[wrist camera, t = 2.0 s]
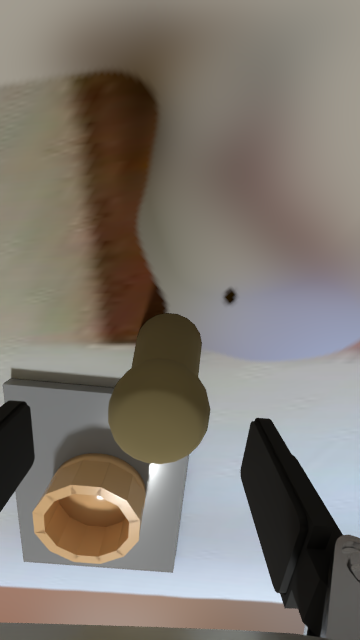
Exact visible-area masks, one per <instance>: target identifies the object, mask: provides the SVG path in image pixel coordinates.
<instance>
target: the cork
mask: <svg viewBox="0 0 360 640" xmlns="http://www.w3.org/2000/svg"><path fill="white" fill-rule="evenodd" d="M201 346H202V342H201V337H200V333H199V332H198V330H197V328H196V326H195V325H194V324H193V323H192V322H191V321H190V320H188V319H187V318H185V317H183V316H180V315H178V314H171V313H165V314H160V315H156V316H154V317H153V318H151V319H149V320H148V321H147V322H146V323H145V324H144V325H143V326H142V327H141V329H140V331H139V334H138V336H137V341H136V347H135V352H134V357H133V363H132V368H131V369H130V370H129V371H127V372H126V373H125V375H124V376H123V377H122V378H121V379H120V380H119V381H118V383H117V384H116V386H115V388H114V390H113V393H112V395H111V398H110V400H109V407H108V423H109V426H110V429H111V432H112V434H113V437H114V440H115V441H116V443H117V444H118V445H119V446H120V448H121V449H122V450H123V451H124V452H125V453H127V454H128V455H130V456H131V457H133V458H134V459H137V460H140V461H143V462H145V463H152V464H166V463H171V462H176V461H178V460H180V459H182V458H184V457H186V456H188V455H189V454H190V453H191V452H192V451H193V450H194V449H195V448H196V447H197V446H198V445H199V444H200V442H201V441H202V439H203V437H204V435H205V433H206V431H207V428H208V422H209V415H210V406H209V402H208V397H207V393H206V389H205V387H204V386H203V384H202V383H201V381H200V380H199V378H198V373H199V364H200V355H201Z"/></svg>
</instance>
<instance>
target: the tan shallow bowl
mask: <svg viewBox="0 0 360 640" xmlns="http://www.w3.org/2000/svg"><path fill="white" fill-rule="evenodd" d="M145 498H146V488H145V484H144V481H143V479H142V477H141V476H140V474H139V473H138V472H137V471H136V470H135V468H133V467H132V466H131V465H130V464H128V463H127V462H125V461H123V460H121V459H119V458H117V457H114V456H111V455H107V454H100V453H90V454H83V455H79V456H76V457H73V458H71V459H69V460H68V461H66V462H65V463H63V464H62V465H61V466H60V467H59V469H58V470H57V471H56V473H55V475H54V476H53V478H52V480H51V482H50V484H49V485H48V487H47V488H46V490H45V492H44V494H43V495H42V497H41V499H40V500H39V502H38V504H37V505H36V507H35V509H34V510H33V512H32V513H33V524H34V533H35V534H36V535H37V537H38V538H39V539H40V540H41V541H42V542H43V544H44V545H45V546H46V547H47V548H48V549H49V551H51V552H53V553H55V554H58V555H60V556H62V557H64V558H66V559H68V560H71V561H73V562H81V563H95V564H102V563H105V562H108V561H111V560H114V559H118V558H121V557H124V556H125V555H126V554H127V553H128V552H129V551H130V550H131V549H132V547H133V546H134V545H135V544H136V543H137V542H138V541H139V536H140V529H141V523H142V516H143V509H144V504H145Z"/></svg>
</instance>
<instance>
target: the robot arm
mask: <svg viewBox="0 0 360 640" xmlns="http://www.w3.org/2000/svg"><path fill="white" fill-rule="evenodd" d="M34 459H35V453H34V442H33V431H32V420H31V409H30V406H28V405H27V403H26V402H25V401H13V400H10V401H7V402H6V403H5V404H3V405H2V406H1V407H0V512H1V510H2V509H3V507H4V506H5V505H6V503H7V502H8V500H9V499H10V497H11V496H12V494H13V493H14V492H15V490H16V489H17V487H18V486H19V484H20V483H21V482H22V480H23V479H24V477H25V476H26V474H27V473H28V471H29V470H30V469H31V467H32V465H33V463H34ZM241 480H242V483H243V487H244V490H245V493H246V497H247V500H248V503H249V507H250V510H251V513H252V517H253V520H254V523H255V527H256V530H257V534H258V537H259V540H260V544H261V547H262V550H263V554H264V557H265V560H266V564H267V567H268V570H269V574H270V577H271V581H272V584H273V587H274V589H275V591H276V592H277V593H280V594H281V597H282V601H283V604H284V607H285V608H297V609H299V613H300V615H301V618H302V621H303V623H304V624H305V629H304V635H300V634H290V633H273V632H258V631H242V630H217V629H191V628H164V627H163V628H162V627H134V626H101V625H69V624H68V625H66V624H34V623H33V624H32V623H0V640H360V538H358V537H355V536H351V535H343V534H342V533H341V531H340V530H339V528H338V526H337V525H336V523H335V521H334V520H333V518H332V516H331V515H330V513H329V511H328V510H327V508H326V506H325V505H324V503H323V501H322V500H321V498H320V497H319V495H318V493H317V492H316V490H315V488H314V487H313V485H312V483H311V482H310V480H309V478H308V477H307V475H306V473H305V472H304V470H303V468H302V467H301V465H300V464H299V462H298V460H297V459H296V458H295V456H293V455H292V454H291V453H290V451H289V449H288V448H287V446H286V444H285V442H284V441H283V439H282V437H281V436H280V434H279V432H278V431H277V429H276V427H275V426H274V424H273V422H272V421H271V420H270V419H264V418H256V419H255V421H252V422H251V424H250V429H249V434H248V438H247V443H246V447H245V452H244V457H243V461H242V466H241Z"/></svg>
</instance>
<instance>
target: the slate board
mask: <svg viewBox="0 0 360 640" xmlns="http://www.w3.org/2000/svg"><path fill="white" fill-rule="evenodd" d="M113 390H114V388H110V387H99V386H87V385H76V384H65V383H54V382H43V381H32V380H20V379H9V380H8V381H6V382H5V383H4V384H3V392H4V400H5V403H6V402H7V401H10V400H13V401H25V402H26V403H27V405H28V406H30V409H31V420H32V431H33V442H34V453H35V459H34V463H33V465H32V467H31V469H30V470H29V471H28V473H27V474H26V476H25V477H24V479H23V480H22V482H21V483H20V484H19V486H18V487H17V489H16V490H15V492H16V501H17V509H18V518H19V526H20V534H21V543H22V551H23V559H24V562H35V563H49V564H62V565H76V566H90V567H103V568H117V569H131V570H144V571H158V572H172V573H173V569H174V561H175V554H176V546H177V539H178V531H179V524H180V516H181V509H182V501H183V494H184V486H185V479H186V471H187V464H188V456H189V455H188V456H186V457H184V458H182V459H180V460H178V461H176V462H171V463H166V464H152V463H145V462H143V461H140V460H137V459H134V458H133V457H131V456H130V455H128V454H127V453H125V452H124V451H123V450H122V449H121V448H120V446H119V445H118V444H117V443H116V441H115V440H114V437H113V434H112V432H111V429H110V426H109V423H108V407H109V400H110V398H111V395H112V393H113ZM90 453H100V454H107V455H111V456H114V457H117V458H119V459H121V460H123V461H125V462H127V463H128V464H130V465H131V466H132V467H133V468H135V470H136V471H137V472H138V473H139V474H140V476H141V477H142V479H143V481H144V484H145V488H146V498H145V504H144V509H143V516H142V523H141V529H140V536H139V541H138V542H137V543H136V544H135V545H134V546H133V547H132V549H131V550H130V551H129V552H128V553H127V554H126V555H125V556H124V557H121V558H118V559H114V560H111V561H108V562H105V563H102V564H95V563H81V562H73V561H71V560H68V559H66V558H64V557H62V556H60V555H58V554H55V553H53V552H51V551H49V549H48V548H47V547H46V546H45V545H44V544H43V542H42V541H41V540H40V539H39V538H38V537H37V535H36V534H35V533H34V524H33V513H32V512H33V510H34V509H35V507H36V505H37V504H38V502H39V500H40V499H41V497H42V495H43V494H44V492H45V490H46V488H47V487H48V485H49V484H50V482H51V480H52V478H53V476H54V475H55V473H56V471H57V470H58V469H59V467H60V466H61V465H62V464H63V463H65V462H66V461H68V460H69V459H71V458H73V457H76V456H79V455H83V454H90Z"/></svg>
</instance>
